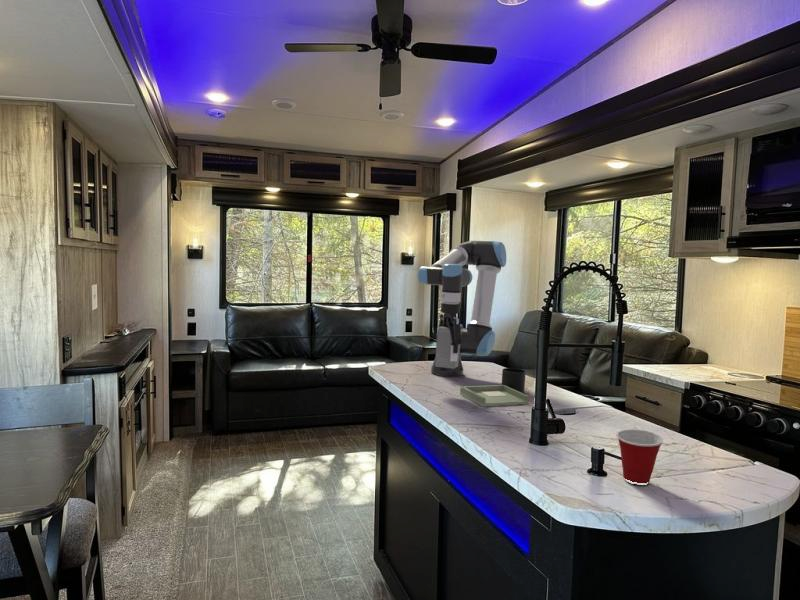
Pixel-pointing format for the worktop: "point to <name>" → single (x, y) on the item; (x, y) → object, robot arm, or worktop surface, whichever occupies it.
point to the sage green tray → (493, 395)
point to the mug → (514, 378)
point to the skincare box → (445, 349)
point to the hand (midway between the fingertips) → (447, 358)
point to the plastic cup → (638, 453)
